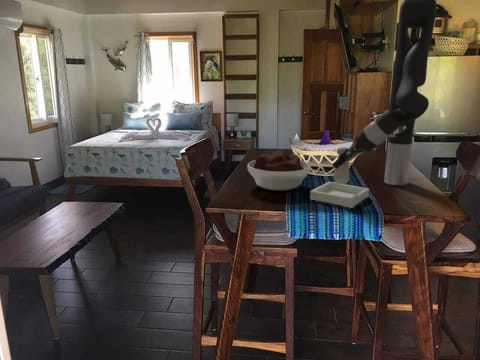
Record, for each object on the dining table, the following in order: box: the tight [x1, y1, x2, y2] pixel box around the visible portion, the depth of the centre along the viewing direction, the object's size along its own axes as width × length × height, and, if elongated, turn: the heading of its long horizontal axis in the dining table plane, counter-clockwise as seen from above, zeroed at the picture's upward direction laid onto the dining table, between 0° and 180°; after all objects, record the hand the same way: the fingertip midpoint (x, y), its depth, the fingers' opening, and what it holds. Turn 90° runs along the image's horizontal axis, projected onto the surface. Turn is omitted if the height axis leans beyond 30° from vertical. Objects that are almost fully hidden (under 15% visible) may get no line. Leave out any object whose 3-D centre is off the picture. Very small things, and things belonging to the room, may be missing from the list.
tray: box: [309, 181, 370, 209], centre depth 149 cm, size 16×16×4 cm
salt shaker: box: [332, 146, 351, 185], centre depth 146 cm, size 6×6×13 cm
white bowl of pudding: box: [246, 149, 311, 191], centre depth 162 cm, size 25×25×15 cm
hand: (336, 165), depth 147 cm, fingers closed on salt shaker, 3 cm apart
